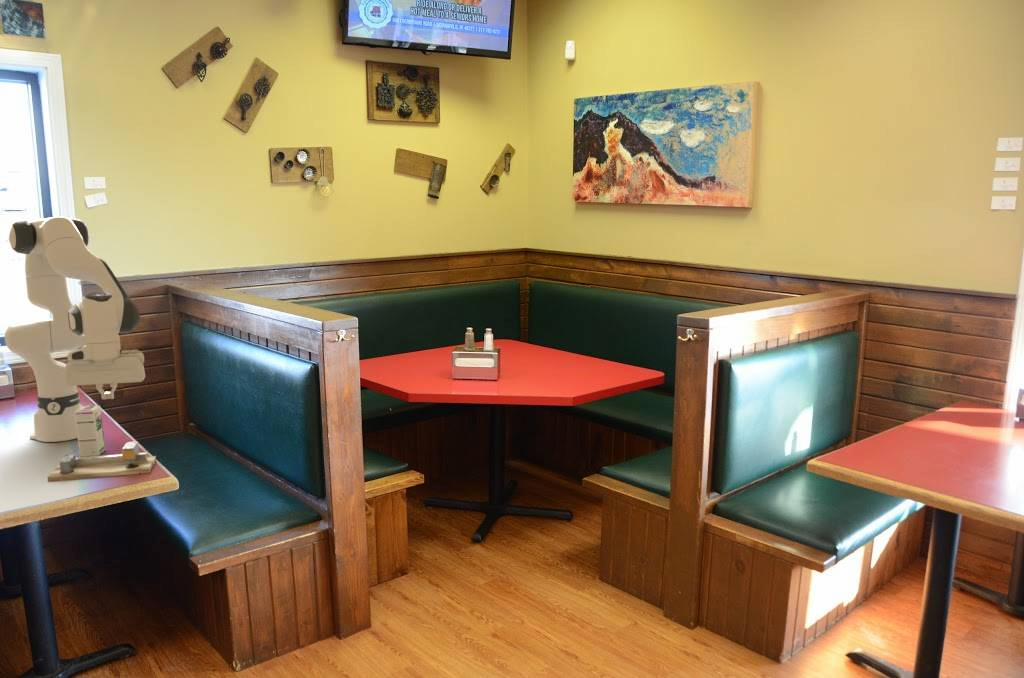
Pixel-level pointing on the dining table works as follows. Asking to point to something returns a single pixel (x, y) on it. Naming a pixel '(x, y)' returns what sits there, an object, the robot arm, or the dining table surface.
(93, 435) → the syrup box
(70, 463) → the trammel bar
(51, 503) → the dining table surface
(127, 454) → the block
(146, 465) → the hole board
